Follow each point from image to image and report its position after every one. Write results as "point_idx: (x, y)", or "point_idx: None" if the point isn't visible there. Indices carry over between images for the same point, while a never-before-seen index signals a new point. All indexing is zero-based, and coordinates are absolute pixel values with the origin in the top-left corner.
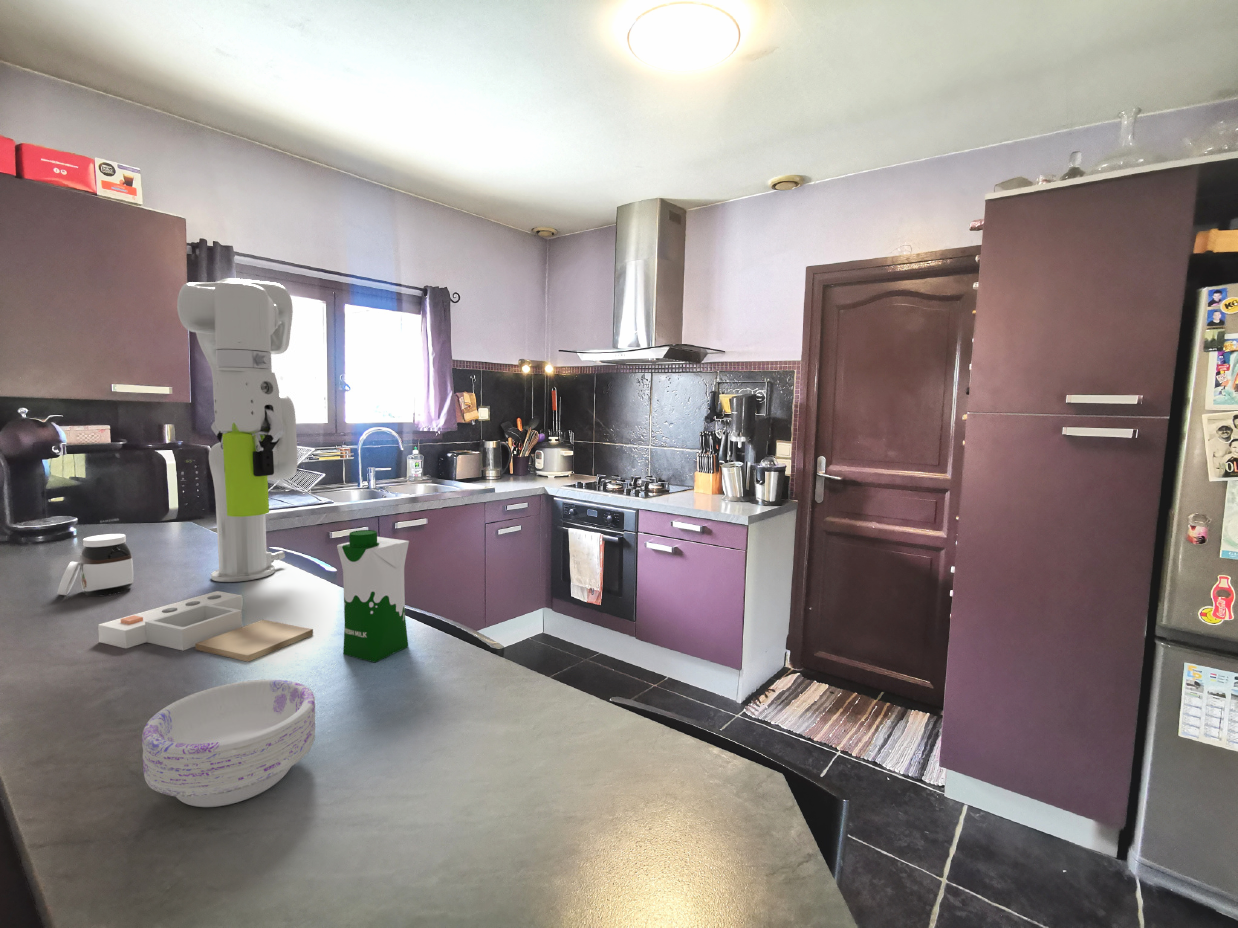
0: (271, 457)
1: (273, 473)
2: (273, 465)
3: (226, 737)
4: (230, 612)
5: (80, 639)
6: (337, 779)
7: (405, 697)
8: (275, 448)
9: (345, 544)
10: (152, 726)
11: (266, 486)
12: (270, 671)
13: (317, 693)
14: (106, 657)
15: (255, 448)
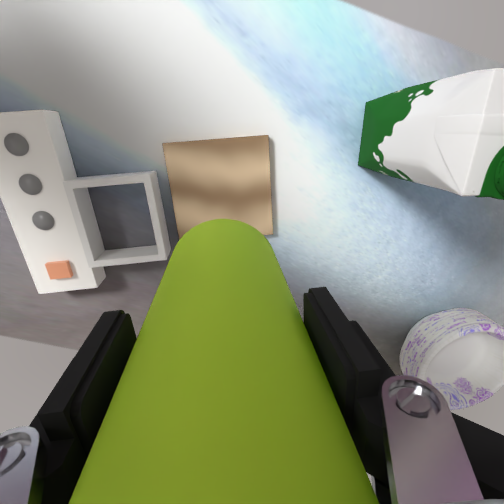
0: (383, 362)
1: (323, 287)
2: (338, 307)
3: (441, 354)
4: (147, 189)
5: (20, 288)
6: (494, 309)
7: (485, 209)
8: (432, 388)
9: (477, 183)
10: None
11: (283, 277)
12: (316, 235)
13: (399, 243)
14: (119, 297)
15: (371, 479)
